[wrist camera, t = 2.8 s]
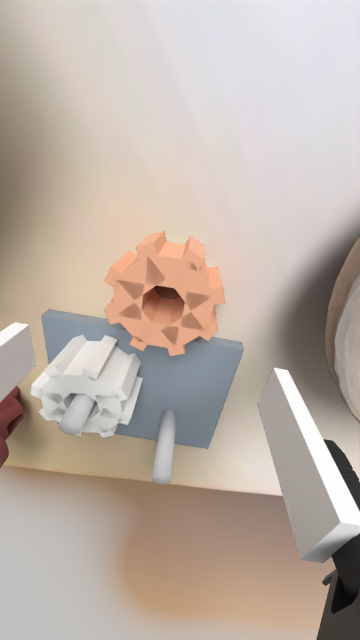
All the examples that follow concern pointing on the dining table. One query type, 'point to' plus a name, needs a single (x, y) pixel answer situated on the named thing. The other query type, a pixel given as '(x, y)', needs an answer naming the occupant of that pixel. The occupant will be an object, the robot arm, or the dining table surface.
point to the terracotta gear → (162, 313)
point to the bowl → (346, 331)
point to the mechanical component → (9, 420)
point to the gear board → (156, 386)
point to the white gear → (91, 383)
